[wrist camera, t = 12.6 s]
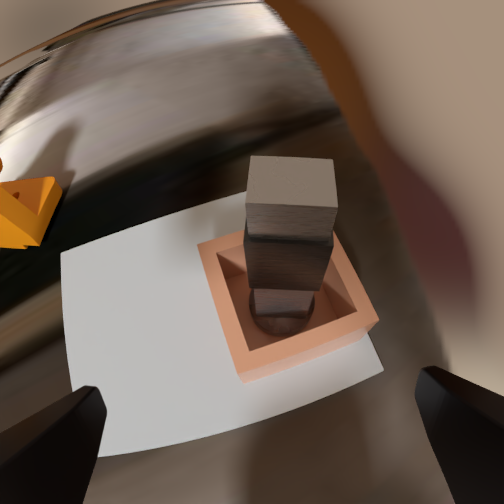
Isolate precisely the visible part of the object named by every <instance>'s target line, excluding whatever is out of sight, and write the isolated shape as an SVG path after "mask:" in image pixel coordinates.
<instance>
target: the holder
mask: <svg viewBox="0 0 504 504" xmlns="http://www.w3.org/2000/svg"><path fill="white" fill-rule="evenodd" d="M244 230H245V229H244ZM244 230H241V231H238V232H235V233H232V234H228V235H225V236H222V237H219V238H216V239H212V240H209V241H206V242H203V243H200V244H197V247H198V251H199V254H200V257H201V261H202V264H203V268H204V271H205V274H206V278H207V281H208V284H209V288H210V291H211V294H212V297H213V301H214V304H215V307H216V310H217V313H218V317H219V320H220V323H221V326H222V329H223V332H224V335H225V338H226V342H227V345H228V348H229V351H230V354H231V357H232V360H233V363H234V366H235V369H236V372H237V374H238V376H239V378H240V379H241V381H242V382H243V384H245V383H248V382H251V381H254V380H257V379H260V378H263V377H266V376H269V375H272V374H275V373H278V372H280V371H283V370H286V369H289V368H291V367H294V366H297V365H300V364H302V363H305V362H307V361H310V360H313V359H315V358H318V357H320V356H323V355H325V354H328V353H330V352H333V351H335V350H338V349H340V348H342V347H345V346H347V345H349V344H352V343H354V342H356V341H359V340H360V339H361V338H362V337H363V336H364V335H365V334H366V333H367V332H368V331H369V330H370V329H371V328H372V327H373V326H374V325H375V324H376V323H377V322H378V321H379V318H378V316H377V314H376V312H375V310H374V308H373V306H372V304H371V302H370V300H369V298H368V296H367V294H366V292H365V290H364V288H363V286H362V284H361V282H360V280H359V278H358V276H357V274H356V272H355V270H354V268H353V266H352V264H351V263H350V261H349V259H348V257H347V255H346V253H345V251H344V249H343V247H342V246H341V244H340V242H339V240H338V238H337V236H336V235H335V233H334V231H333V238H334V248H333V251H332V254H331V257H330V260H329V263H328V267H327V270H326V273H325V276H324V279H323V282H322V285H321V288H320V291H314V298H315V307H314V311H313V314H312V316H311V319H310V321H309V323H308V324H307V325H306V326H305V327H304V328H303V329H302V330H301V331H299V332H298V333H296V334H293V335H290V336H285V337H278V336H273V335H270V334H267V333H265V332H263V331H262V330H261V329H260V328H258V327H257V325H256V324H255V323H254V321H253V319H252V317H251V314H250V309H249V295H250V292H251V290H252V288H249V283H248V276H247V268H246V260H245V253H244V245H243V239H244Z"/></svg>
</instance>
